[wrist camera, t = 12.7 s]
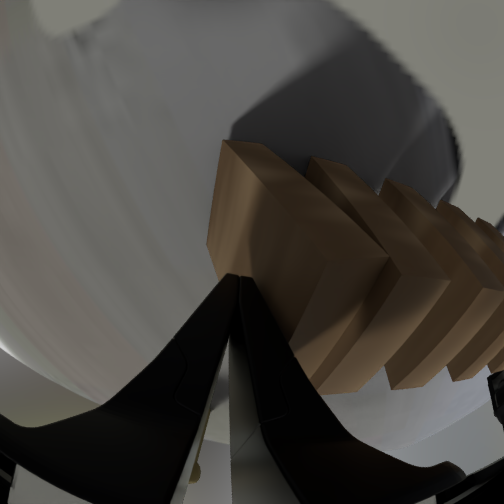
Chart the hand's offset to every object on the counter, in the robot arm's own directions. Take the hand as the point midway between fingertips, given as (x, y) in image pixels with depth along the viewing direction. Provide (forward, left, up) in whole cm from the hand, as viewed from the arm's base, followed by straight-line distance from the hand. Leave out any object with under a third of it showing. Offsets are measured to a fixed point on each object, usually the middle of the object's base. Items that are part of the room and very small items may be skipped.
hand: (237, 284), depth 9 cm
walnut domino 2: (-3, +1, -7) cm, 8 cm away
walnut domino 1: (+1, 0, -7) cm, 7 cm away
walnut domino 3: (-8, +3, -7) cm, 11 cm away
